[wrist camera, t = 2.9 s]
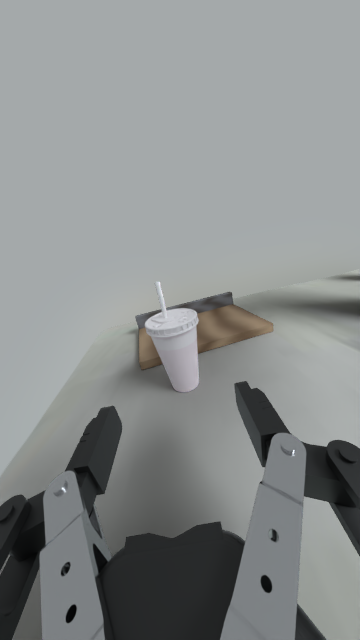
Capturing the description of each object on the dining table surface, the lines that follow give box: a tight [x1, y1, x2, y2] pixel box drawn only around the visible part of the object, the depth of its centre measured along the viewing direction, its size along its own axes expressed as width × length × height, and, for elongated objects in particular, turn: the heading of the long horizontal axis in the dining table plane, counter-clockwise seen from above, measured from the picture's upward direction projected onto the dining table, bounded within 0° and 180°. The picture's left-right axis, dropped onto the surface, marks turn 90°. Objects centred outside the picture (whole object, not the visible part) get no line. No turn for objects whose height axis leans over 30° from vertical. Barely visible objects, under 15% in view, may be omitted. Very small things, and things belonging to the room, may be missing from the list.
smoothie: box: [145, 281, 199, 392], centre depth 23 cm, size 6×6×14 cm
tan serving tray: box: [136, 292, 273, 370], centre depth 38 cm, size 24×16×4 cm
